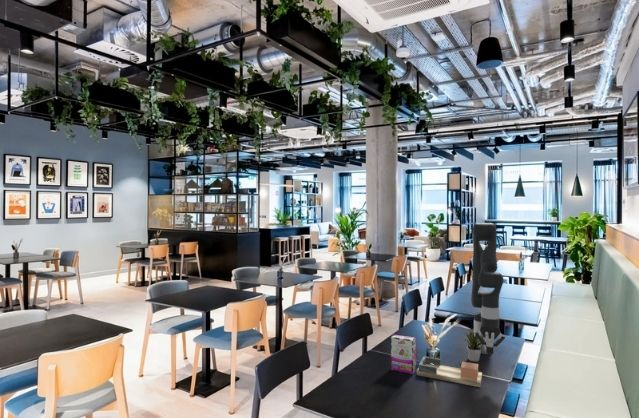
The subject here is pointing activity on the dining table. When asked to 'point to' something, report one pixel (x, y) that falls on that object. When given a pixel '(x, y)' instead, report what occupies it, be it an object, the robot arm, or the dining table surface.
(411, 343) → the candy bar box
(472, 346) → the house plant
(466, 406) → the dining table surface
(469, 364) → the carton
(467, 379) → the board
